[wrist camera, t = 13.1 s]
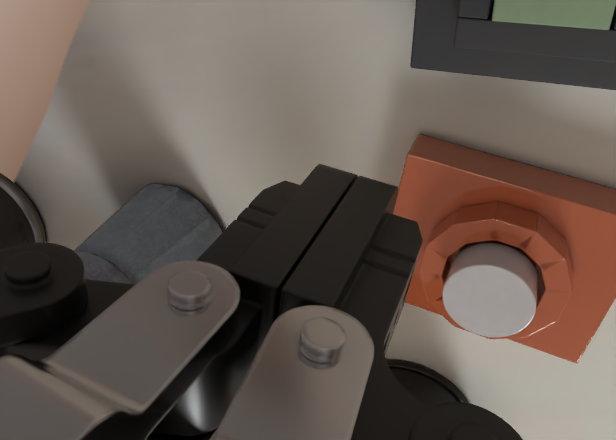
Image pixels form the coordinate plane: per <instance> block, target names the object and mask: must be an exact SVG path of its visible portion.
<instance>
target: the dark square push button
mask: <svg viewBox="0 0 616 440" xmlns="http://www.w3.org/2000/svg"><path fill="white" fill-rule="evenodd" d="M494 1H495V0H416V9H415V20H414V32H413V43H412V54H411V65H410V66H411V68H418V69H427V70H436V71H445V72H454V73H463V74H473V75H482V76H491V77H500V78H509V79H518V80H528V81H537V82H546V83H555V84H564V85H573V86H583V87H592V88H601V89H610V90H616V6H615V10H614V14H613V17H612V21H611V25H610V28H609V30H599V29H586V28H573V27H561V26H548V25H535V24H523V23H510V22H497V21H492V14H493V7H494Z"/></svg>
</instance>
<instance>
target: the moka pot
mask: <svg viewBox="0 0 616 440" xmlns="http://www.w3.org/2000/svg"><path fill="white" fill-rule="evenodd" d="M222 233H223V231H222V230H221V228H220V226H219V224H218V223H217V222H216V221H215V220H214V218H213V217H212V216H211V214H210V213H209V211H208V210H207V209H206V208H205V207H204V206H203V205H202V204H201V203H200V202H199V201H197V200H196V199H195V198H193V197H192V196H191V195H190V194H188V193H186V192H185V191H183V190H181V189H179V188H177V187H173V186H169V185H161V184H157V183H156V184H150V185H147V186H145V187H144V188H143V189H141V190H140V191H139V192H138V193H137V194H135V195H134V196H133V197H132V198H131V199H130V200H128V201H127V202H126V203H125V204H124V205H123V206H122V207H121V208H120V209H119V210H118V211H116V212H115V213H114V214H113V215H112V216H111V217H110V218H109V219H108V220H107V221H106V222H105V223H104V224H103V225H101V226H100V227H99V228H98V229H97V230H96V231H95V232H94V233H93V234H92V235H90V236H89V237H88V238H87V239H86V240H85V241H84V242H83V243H82V244H81V245H80V246H79V247H77V248H76V249H75V250H74V252H75V253H76V254H77V255H78V256H79V257H80V258H81V260H82V261H83V265H84V272H85V279H89V280H98V281H107V282H116V283H125V284H137V283H138V282H139V281H140V280H142V279H143V278H144V277H145V276H146V275H148V274H149V273H150V272H152V271H153V270H155V269H157V268H158V267H160V266H163V265H166V264H168V263H173V262H177V261H185V260H194V261H196V260H197V259H198V258H199V257H200V256H201V255H202V254H203V253H204V252H205V251H206V250H207V249H208V248H209V247H210V245H211V244H212V243H213V242H214V241H215V240H216V239H217V238H218V237H219V236H220V235H221V234H222Z"/></svg>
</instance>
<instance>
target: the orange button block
mask: <svg viewBox="0 0 616 440" xmlns="http://www.w3.org/2000/svg"><path fill="white" fill-rule="evenodd" d="M393 214H394V215H397V216H400V217H403V218H407V219H410V220H413V221H416V222H418V226H419V229H420V233H421V236H422V240H423V243H422V246H421V249H420V253H419V256H418V259H417V263H416V266H415V269H414V273H413V276H412V279H411V283H410V286H409V289H408V293H407V296H406V300H405V302H406V303H409V304H412V305H415V306H417V307H420V308H423V309H426V310H429V311H431V312H434V313H437V314H440V315H443V316H444V317H445V318H446V319H447V320H448V321H449V322H450V323H451V324H452V325H454V326H455V327H458V328H461V329H463V330H466V329H464V328H462V327H461V326H459V325H458V324H457V323H456V322H455V321H454V320H453V319H452V318H451V317H450V316H449V314H448V313H447V311H446V309H445V306H444V304H443V299H442V291H443V287H444V284H445V281H446V278H447V274H448V271H449V268H450V265H451V263H452V261H453V259H454V258H455V256H456V255H457V254H458V253H460V252H461V251H462V250H464V249H465V248H467V247H469V246H472V245H475V244H480V243H498V244H503V245H506V246H509V247H512V248H514V249H516V250H518V251H519V252H521V253H522V254H523V255H525V256H526V257H527V258H528V259H529V260H530V261H531V263H532V264H533V266H534V267H535V269H536V272H537V275H538V280H539V286H538V296H537V306H536V313H535V315H534V318H533V319H532V321H531V322H530V324H529V325H528V326H527V327H526V328H524V329H523V330H521V331H520V332H518V333H516V334H513V335H510V336H505V337H486V336H483V337H486V338H489V339H505V338H507V339H510V340H512V341H515V342H518V343H521V344H524V345H526V346H529V347H532V348H535V349H538V350H540V351H543V352H546V353H549V354H552V355H554V356H557V357H560V358H563V359H566V360H568V361H571V362H574V363H578V361H579V360H580V358H581V356H582V355H583V353H584V351H585V349H586V348H587V346H588V344H589V343H590V341H591V339H592V338H593V336H594V334H595V332H596V331H597V329H598V327H599V326H600V324H601V322H602V320H603V319H604V317H605V315H606V314H607V312H608V310H609V308H610V307H611V305H612V303H613V302H614V300H615V298H616V189H612V188H609V187H605V186H602V185H598V184H595V183H591V182H587V181H584V180H580V179H577V178H573V177H570V176H566V175H563V174H559V173H555V172H552V171H548V170H545V169H541V168H538V167H534V166H531V165H527V164H524V163H520V162H516V161H513V160H509V159H506V158H502V157H499V156H495V155H492V154H488V153H484V152H481V151H477V150H474V149H470V148H467V147H463V146H460V145H456V144H453V143H449V142H445V141H442V140H438V139H435V138H431V137H428V136H424V135H421V134H419V135H418V137H417V138H416V140H415V142H414V144H413V145H412V147H411V149H410V150H409V152H408V154H407V157H406V161H405V165H404V169H403V173H402V177H401V181H400V185H399V189H398V195H397V200H396V204H395V208H394V212H393ZM466 331H468V330H466ZM469 332H470V331H469ZM477 335H478V334H477ZM480 336H481V335H480Z"/></svg>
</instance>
